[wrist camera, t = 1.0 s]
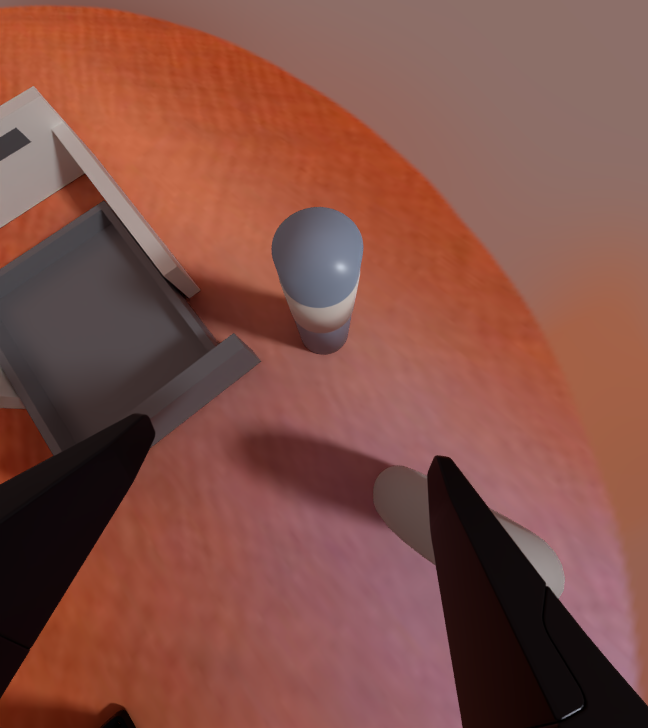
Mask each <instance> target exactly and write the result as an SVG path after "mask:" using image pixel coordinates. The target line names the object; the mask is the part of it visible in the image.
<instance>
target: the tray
mask: <svg viewBox="0 0 648 728" xmlns="http://www.w3.org/2000/svg"><path fill="white" fill-rule="evenodd" d="M260 362H261V361H260V359H259V358H258V357H257V356H256V354H255V353H254V352H253V350H252V349H250V348H249V347H248V346H247V345H246V344H245V343H244V342H243V341H242V340H241V339H240V338H238V337H237V336H236V335H235V334H234V333H233V334H232V335H230V336H229V337H228V338H227V339H225V340H224V341H223V342H221V343H220V344H219V343H218V342H217V340H216V339H215V338H214V336H213V335H212V334H211V333H210V331H209V330H208V329H207V327H206V326H205V325H204V323H203V322H202V321H201V320H200V318H199V317H198V316H197V314H196V313H195V312H194V310H193V309H192V308H191V306H190V305H189V304H188V303H187V301H186V300H185V299H184V297H183V296H182V295H181V293H180V292H179V291H178V290H177V288H176V287H175V286H174V285H173V284H172V283H171V282H170V281H169V280H168V279H167V278H165V277H164V276H163V274H162V273H161V272H160V271H159V269H158V268H157V267H156V265H155V264H154V263H153V261H152V260H151V259H150V257H149V256H148V255H147V253H146V252H145V251H144V250H143V248H142V247H141V246H140V244H139V243H138V242H137V240H136V239H135V238H134V236H133V235H132V234H131V233H130V231H129V230H128V229H127V227H126V226H125V225H124V223H123V222H122V221H121V219H120V218H119V217H118V216H117V214H116V213H115V212H114V210H113V209H112V208H111V207H110V206H109V205H108V204H107V203H106V202H105V201H102V202H101V203H99V204H98V205H96V206H95V207H93V208H92V209H90V210H89V211H87V212H86V213H84V214H83V215H81V216H80V217H78V218H77V219H75V220H74V221H72V222H71V223H69V224H68V225H66V226H65V227H63V228H62V229H60V230H59V231H57V232H56V233H54V234H53V235H51V236H50V237H48V238H47V239H45V240H44V241H42V242H41V243H39V244H38V245H36V246H34V247H33V248H31V249H30V250H28V251H27V252H25V253H24V254H22V255H21V256H19V257H18V258H16V259H15V260H13V261H12V262H10V263H9V264H7V265H6V266H4V267H3V268H1V269H0V366H1V367H2V369H3V371H4V372H5V374H6V376H7V377H8V379H9V381H10V383H11V384H12V386H13V388H14V389H15V391H16V393H17V394H18V396H19V398H20V399H21V401H22V403H23V405H24V406H25V408H26V410H27V411H28V413H29V415H30V416H31V418H32V420H33V421H34V423H35V425H36V427H37V428H38V430H39V432H40V433H41V435H42V437H43V438H44V440H45V442H46V444H47V445H48V447H49V449H50V450H51V452H52V454H53V455H56V454H58V453H60V452H62V451H64V450H66V449H67V448H69V447H71V446H73V445H75V444H77V443H79V442H81V441H82V440H84V439H86V438H88V437H90V436H92V435H94V434H96V433H97V432H99V431H101V430H103V429H105V428H107V427H109V426H110V425H112V424H114V423H116V422H118V421H120V420H122V419H124V418H125V417H127V416H129V415H131V414H134V413H140V414H146V415H148V416H149V417H150V420H151V422H152V425H153V427H154V430H155V438H154V441H153V443H152V445H151V447H152V446H153V445H155V444H156V443H157V442H158V441H160V440H161V439H162V438H164V437H165V436H166V435H167V434H169V433H170V432H171V431H173V430H174V429H175V428H176V427H178V426H179V425H180V424H182V423H183V422H184V421H185V420H187V419H188V418H189V417H190V416H192V415H193V414H194V413H196V412H197V411H198V410H199V409H201V408H202V407H203V406H205V405H206V404H207V403H208V402H210V401H211V400H212V399H214V398H215V397H216V396H217V395H219V394H220V393H221V392H222V391H224V390H225V389H226V388H228V387H229V386H230V385H231V384H233V383H234V382H235V381H237V380H238V379H239V378H240V377H242V376H243V375H244V374H246V373H247V372H248V371H249V370H251V369H252V368H253V367H255V366H256V365H257V364H258V363H260ZM151 447H150V448H151Z"/></svg>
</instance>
